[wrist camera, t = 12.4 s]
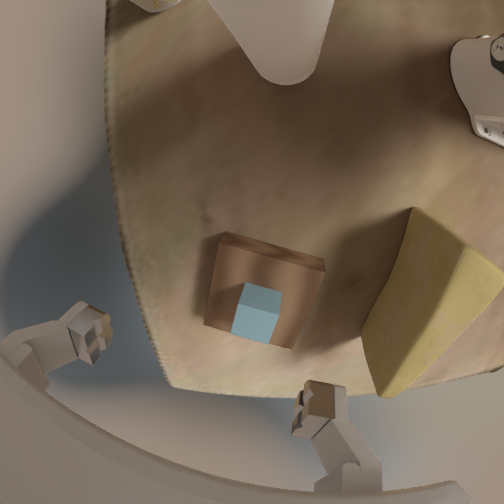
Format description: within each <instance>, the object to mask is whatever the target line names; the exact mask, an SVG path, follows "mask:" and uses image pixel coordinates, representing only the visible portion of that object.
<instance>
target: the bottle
mask: <svg viewBox="0 0 504 504" xmlns="http://www.w3.org/2000/svg"><path fill="white" fill-rule="evenodd" d="M207 2H208V3H209V4H210V5H211V7H212V8H213V9H214V11H215V12H216V13H217V14H218V16H219V17H220V18H221V20H222V21H223V22H224V24H225V25H226V27H227V28H228V29H229V31H230V32H231V33H232V35H233V36H234V38H235V39H236V41H237V42H238V43H239V45H240V46H241V48H242V49H243V51H244V52H245V54H246V55H247V57H248V58H249V60H250V61H251V63H252V64H253V66H254V67H255V69H256V70H257V71H258V73H259V74H260V75H261V76H262V77H263V78H265V79H266V80H268V81H269V82H272V83H275V84H279V85H293V84H297V83H300V82H302V81H304V80H306V79H307V78H309V76H310V75H311V74H312V73H313V72H314V70H315V67H316V65H317V62H318V58H319V55H320V51H321V47H322V44H323V40H324V37H325V33H326V29H327V26H328V22H329V19H330V15H331V11H332V8H333V4H334V0H207Z"/></svg>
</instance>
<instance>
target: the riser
mask: <svg viewBox="0 0 504 504" xmlns="http://www.w3.org/2000/svg"><path fill="white" fill-rule="evenodd" d="M325 273H326V272H325V266H324V260H323V259H321V258H317V257H314V256H310V255H307V254H303V253H300V252H296V251H293V250H289V249H286V248H282V247H279V246H275V245H272V244H268V243H265V242H261V241H258V240H254V239H251V238H247V237H243V236H240V235H236V234H233V233H229V232H226V233H225V234H224V236H223V237H222V239H221V240H220V241H219V244H218V249H217V254H216V259H215V264H214V270H213V275H212V280H211V286H210V291H209V297H208V302H207V308H206V314H205V320H204V325H207V326H210V327H213V328H216V329H220V330H223V331H226V332H230V333H231V329H232V325H233V322H234V318H235V314H236V310H237V306H238V303H239V300H240V297H241V294H242V291H243V288H244V285H245V283H246V282H247V283H250V284H254V285H257V286H261V287H265V288H268V289H272V290H275V291H279V292H282V298H281V307H280V315H279V318H278V320H277V323H276V325H275V328H274V331H273V333H272V336H271V338H270V341H269V344H273V345H277V346H281V347H285V348H289V349H292V348H293V346H294V344H295V342H296V340H297V337H298V335H299V333H300V331H301V329H302V327H303V324H304V322H305V320H306V318H307V316H308V313H309V311H310V309H311V307H312V304H313V302H314V300H315V297H316V295H317V293H318V290H319V288H320V285H321V283H322V281H323V278H324V276H325Z"/></svg>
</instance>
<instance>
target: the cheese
mask: <svg viewBox="0 0 504 504" xmlns="http://www.w3.org/2000/svg"><path fill="white" fill-rule="evenodd" d="M503 286H504V273H503V271H502V270H501V269H500V268H499V267H498V266H496V265H495V264H494V263H493V262H492V261H491V260H490V259H489V258H487V257H486V256H485V255H484V254H483V253H482V252H480V251H479V250H478V249H477V248H476V247H474V246H473V245H472V244H471V243H470V242H468V241H467V240H466V239H465V238H463V237H462V236H461V235H459V234H458V233H457V232H455V231H454V230H453V229H452V228H450V227H449V226H447V225H446V224H444V223H443V222H441V221H440V220H438V219H437V218H435V217H434V216H432V215H431V214H429V213H428V212H426V211H424V210H423V209H420V208H418V207H414V208H413V209H412V210H411V213H410V216H409V220H408V224H407V227H406V231H405V234H404V238H403V241H402V244H401V247H400V251H399V253H398V256H397V259H396V262H395V265H394V267H393V270H392V272H391V274H390V276H389V279H388V281H387V282H386V284H385V286H384V288H383V290H382V291H381V293H380V295H379V297H378V298H377V300H376V302H375V304H374V306H373V308H372V309H371V311H370V313H369V315H368V317H367V319H366V321H365V323H364V325H363V327H362V329H361V338H362V343H363V348H364V353H365V357H366V361H367V364H368V367H369V370H370V373H371V376H372V379H373V382H374V385H375V389H376V392H377V395H378V396H379V397H382V398H387V399H389V398H392V397H394V396H396V395H398V394H399V393H401V392H402V391H403V390H404V389H405V388H407V387H408V386H409V385H410V384H411V383H412V382H413V381H414V380H415V379H416V378H417V377H418V376H420V375H421V374H422V373H423V372H424V371H425V370H426V369H427V368H428V367H429V366H430V365H431V364H432V363H433V362H434V361H435V360H436V359H437V358H438V357H439V356H440V355H441V354H442V353H443V352H444V351H445V350H446V349H447V348H448V347H449V346H450V345H451V344H452V343H453V342H454V341H455V340H456V339H457V338H458V337H459V335H460V334H461V333H462V332H463V331H464V330H465V329H466V328H467V327H468V326H469V325H470V324H471V323H472V322H473V321H474V320H475V319H476V318H477V317H478V316H479V315H480V313H481V312H482V311H483V310H484V309H485V308H486V307H487V306H488V305H489V304H490V302H491V301H492V300H493V299H494V298H495V296H496V295H497V294H498V293H499V291H500V290H501V289H502V287H503Z"/></svg>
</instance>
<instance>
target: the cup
mask: <svg viewBox="0 0 504 504" xmlns="http://www.w3.org/2000/svg"><path fill="white" fill-rule="evenodd" d="M130 1H131V2H133V3H135V4H136V5H138V6H139V7H141V8H143V9H144V10H146V11H148V12H153V13H156V12H162V11H165V10H168V9H170V8H172V7H174V6H175V5H177V4H178V3H179V2H181V1H182V0H130Z"/></svg>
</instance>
